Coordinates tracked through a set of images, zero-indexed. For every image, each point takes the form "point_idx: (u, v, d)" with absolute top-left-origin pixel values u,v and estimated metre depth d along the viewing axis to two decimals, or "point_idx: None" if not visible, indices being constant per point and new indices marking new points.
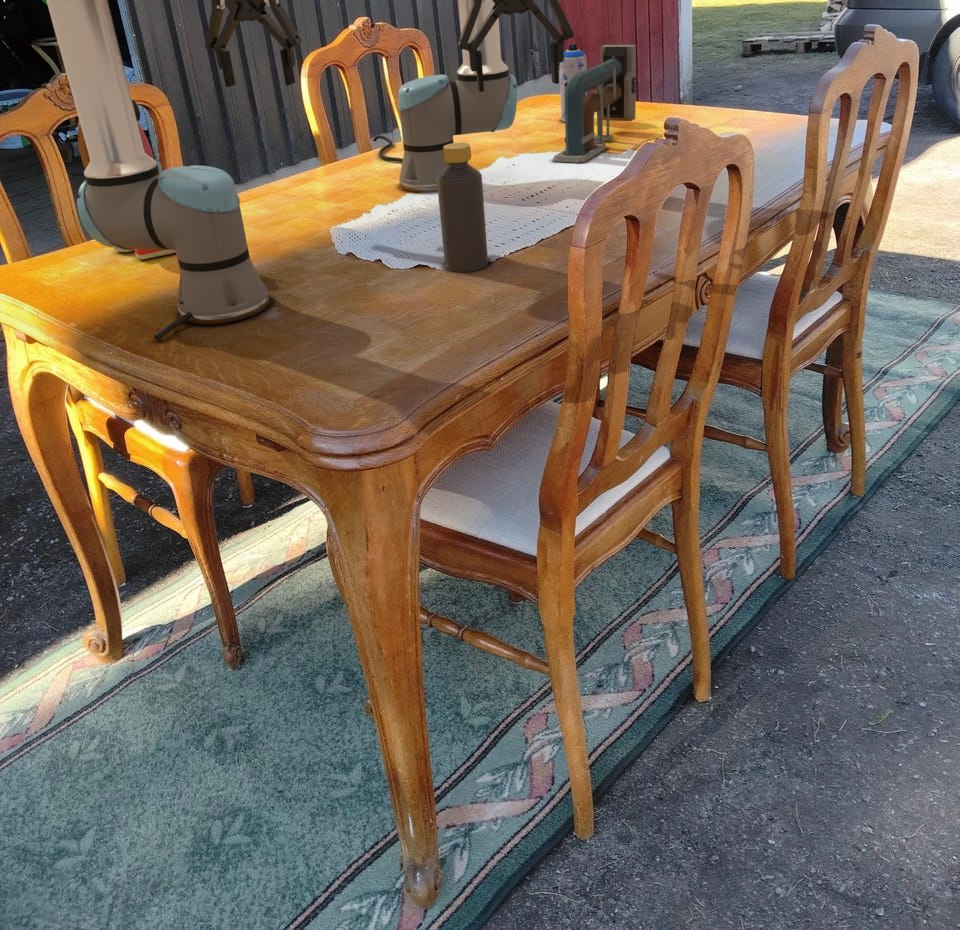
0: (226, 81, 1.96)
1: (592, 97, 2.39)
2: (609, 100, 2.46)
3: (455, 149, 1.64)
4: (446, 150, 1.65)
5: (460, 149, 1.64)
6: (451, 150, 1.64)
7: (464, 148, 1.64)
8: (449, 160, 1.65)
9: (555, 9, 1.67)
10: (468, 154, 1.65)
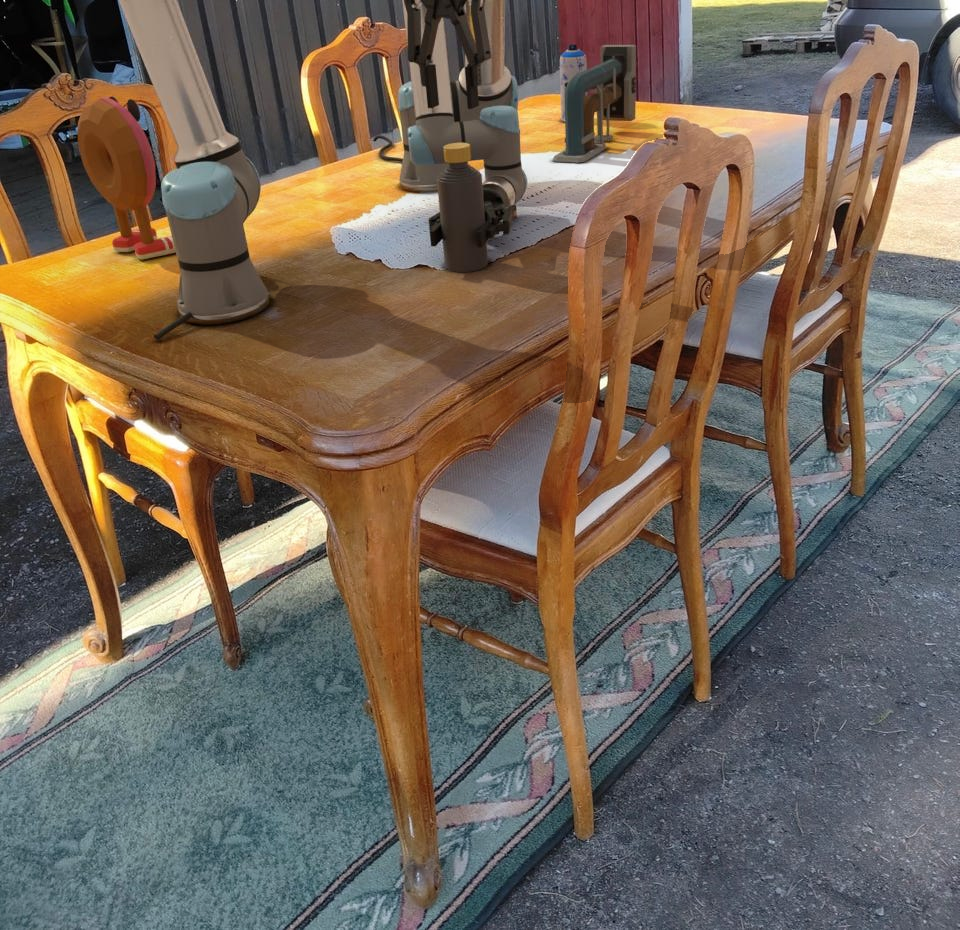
0: None
1: (592, 97, 2.39)
2: (609, 100, 2.46)
3: (455, 149, 1.64)
4: (446, 150, 1.65)
5: (460, 149, 1.64)
6: (451, 150, 1.64)
7: (464, 148, 1.64)
8: (449, 160, 1.65)
9: None
10: (468, 154, 1.65)
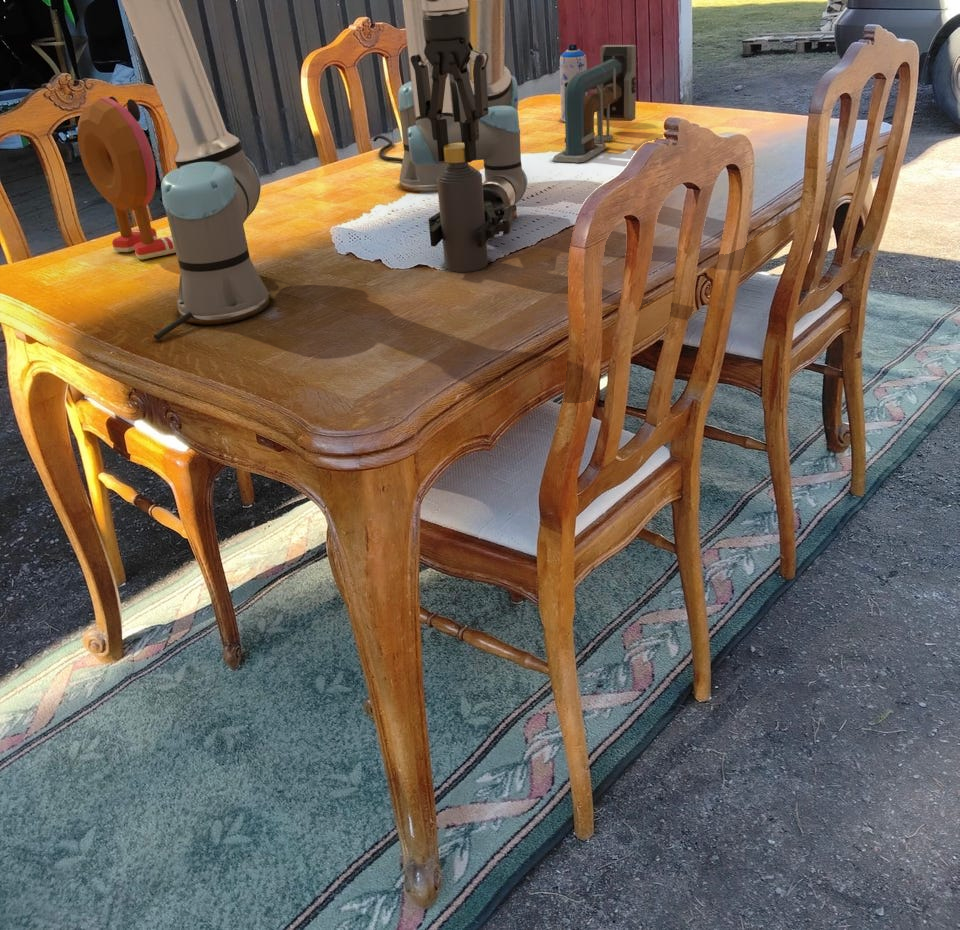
0: None
1: (592, 97, 2.39)
2: (609, 100, 2.46)
3: (455, 149, 1.64)
4: (446, 150, 1.65)
5: (460, 149, 1.64)
6: (451, 150, 1.64)
7: (464, 148, 1.64)
8: (449, 160, 1.65)
9: None
10: None
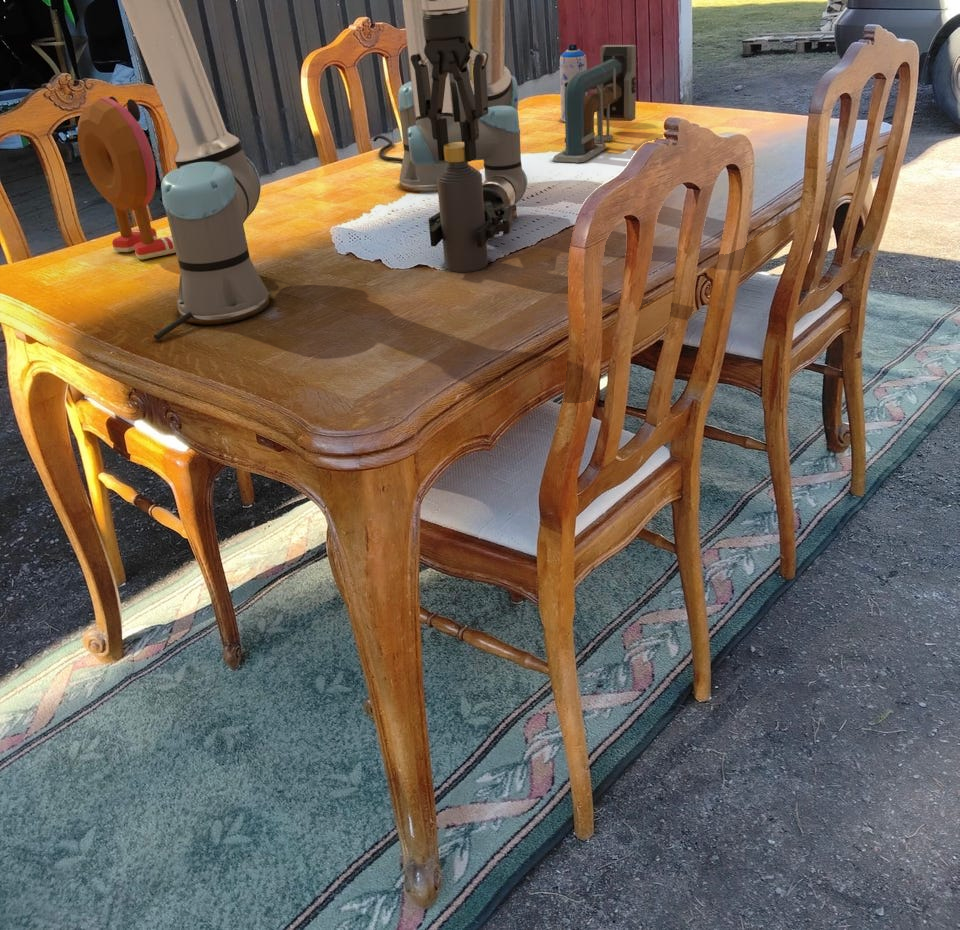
0: None
1: (592, 97, 2.39)
2: (609, 100, 2.46)
3: None
4: None
5: None
6: None
7: None
8: None
9: None
10: None
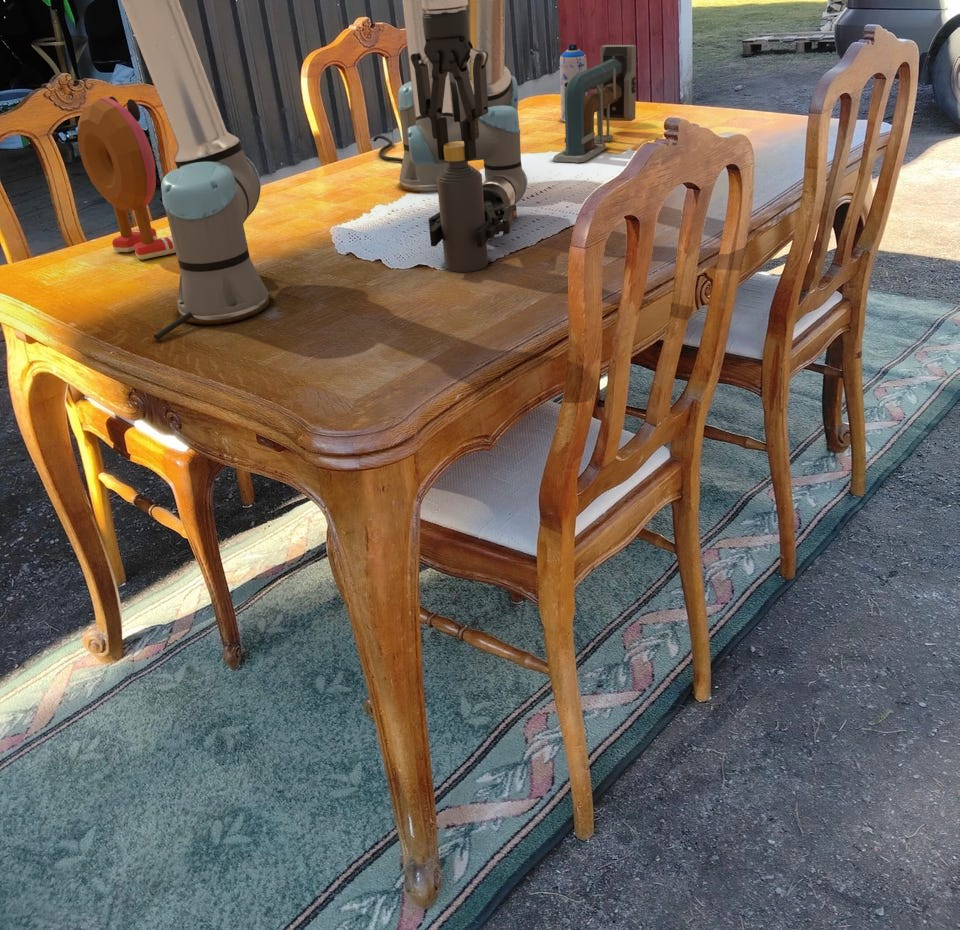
0: None
1: (592, 97, 2.39)
2: (609, 100, 2.46)
3: None
4: None
5: (446, 144, 1.67)
6: None
7: (444, 145, 1.67)
8: None
9: None
10: None
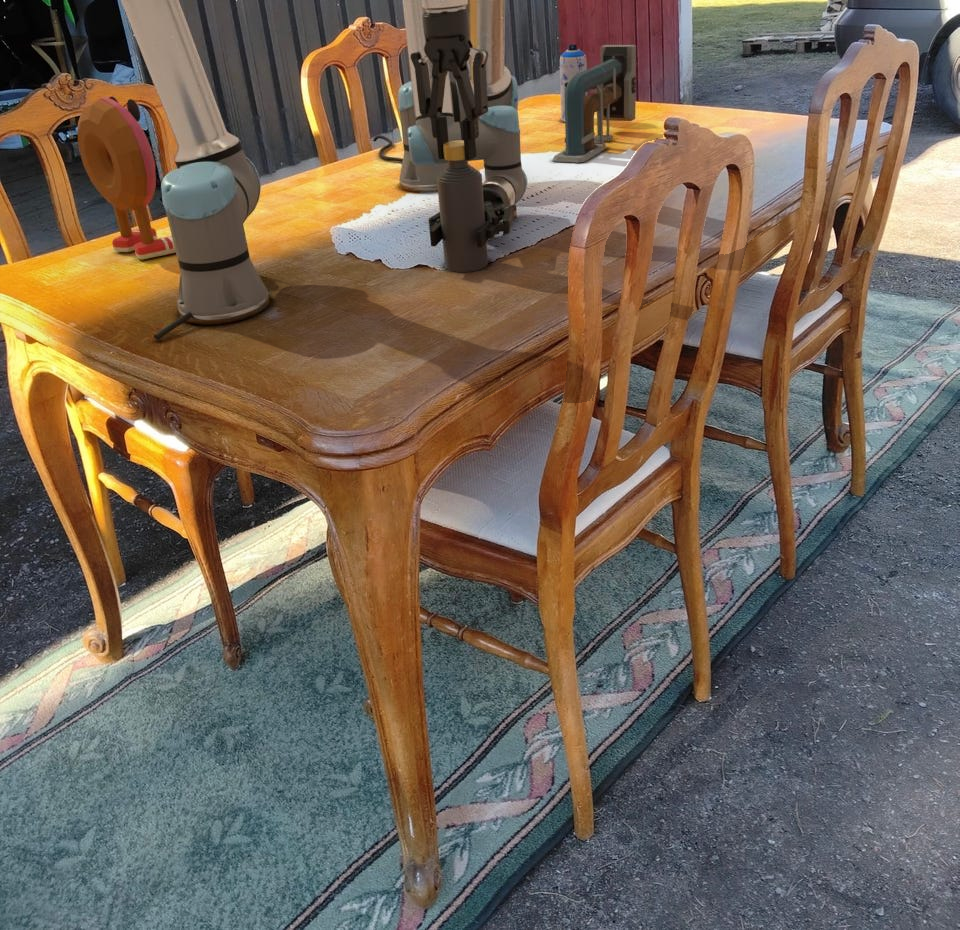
0: None
1: (592, 97, 2.39)
2: (609, 100, 2.46)
3: (447, 147, 1.64)
4: (443, 146, 1.66)
5: (451, 147, 1.64)
6: (444, 147, 1.65)
7: (456, 147, 1.64)
8: (444, 156, 1.66)
9: None
10: (461, 154, 1.64)
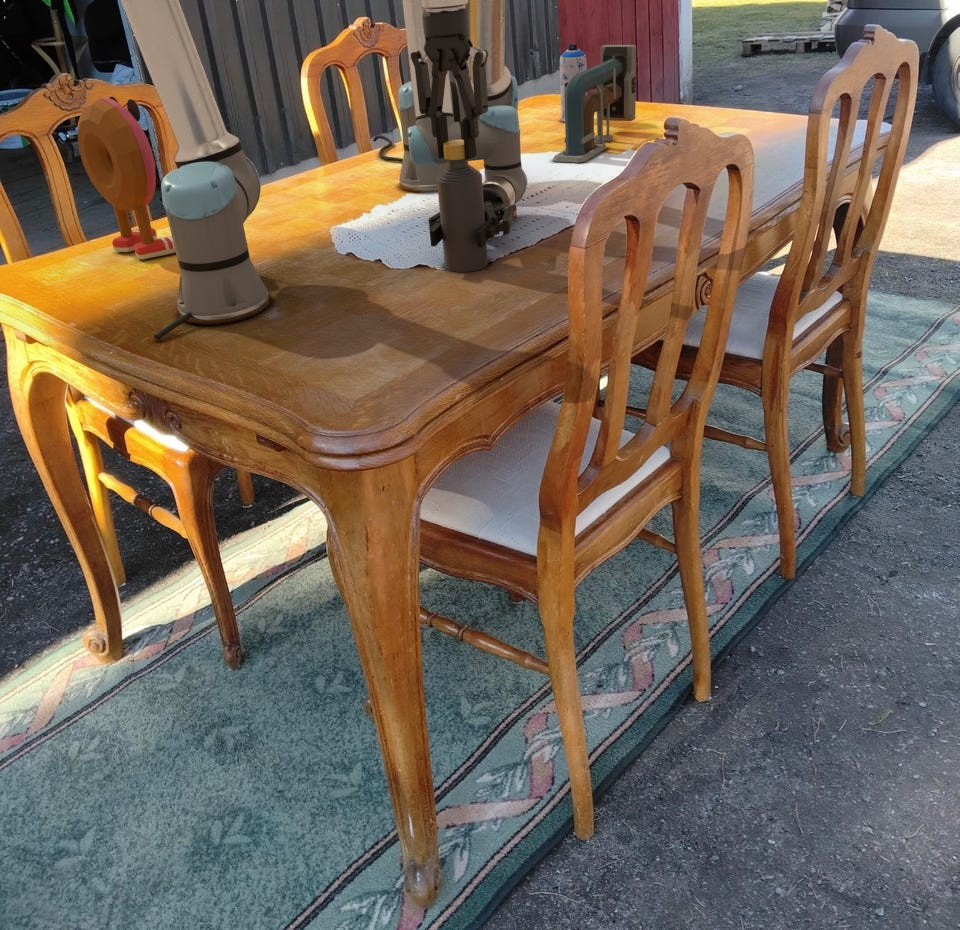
0: None
1: (592, 97, 2.39)
2: (609, 100, 2.46)
3: None
4: (460, 147, 1.64)
5: None
6: None
7: None
8: (464, 156, 1.65)
9: None
10: None
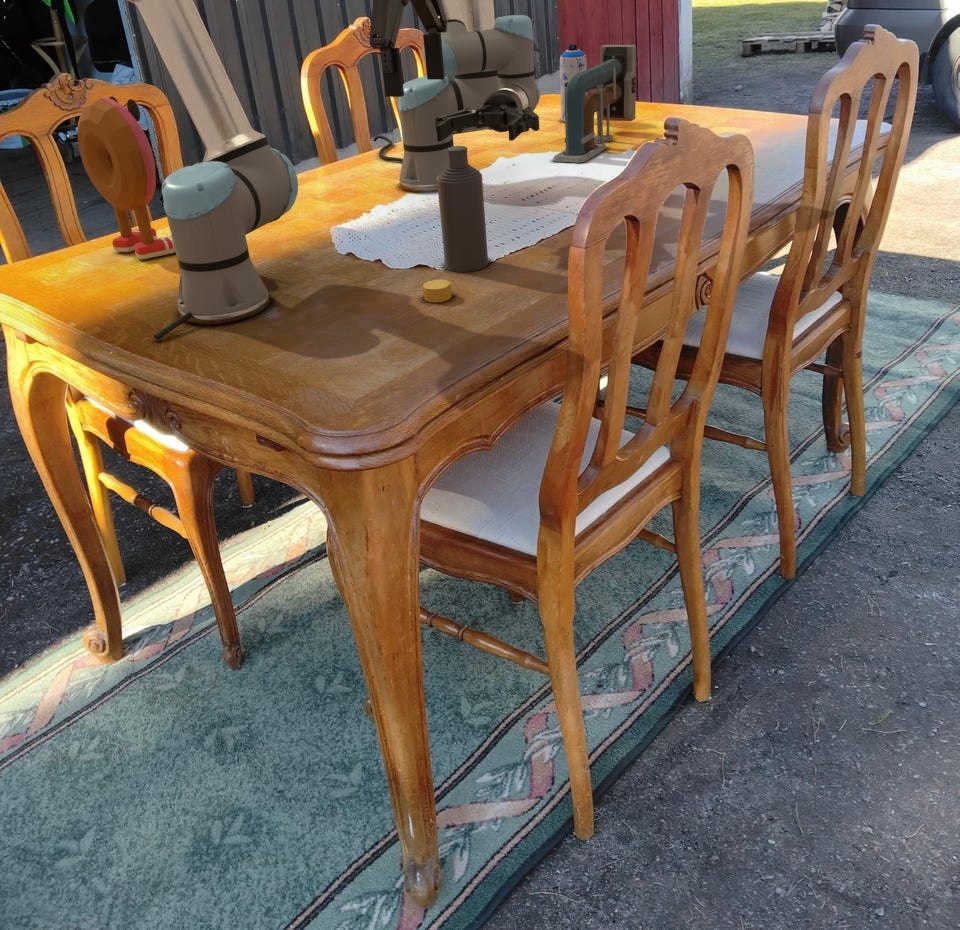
0: None
1: (592, 97, 2.39)
2: (609, 100, 2.46)
3: None
4: None
5: None
6: None
7: None
8: None
9: None
10: None
